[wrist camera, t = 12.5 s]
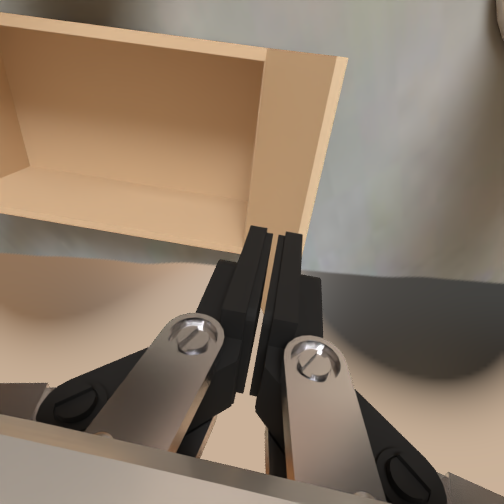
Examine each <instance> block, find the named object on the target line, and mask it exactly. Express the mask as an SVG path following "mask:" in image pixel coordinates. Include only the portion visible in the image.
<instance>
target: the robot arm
mask: <svg viewBox="0 0 504 504" xmlns="http://www.w3.org/2000/svg"><path fill="white" fill-rule="evenodd" d="M496 9H497V22H498V25H499V29H500V32H501V36H502V39H503V40H504V0H496ZM267 229H268V228H264V227H259V226H253V225H251V226H250V229H249V232H248V235H247V238H246V240H245V243H244V246H243V249H242V252H241V255H240V258H239V260H238V263H236V262H231V261H226V260H219V261H218V263H217V266H216V268H215V270H214V272H213V275H212V277H211V279H210V281H209V284H208V286H207V288H206V290H205V293H204V295H203V297H202V299H201V302H200V304H199V306H198V308H197V311H196V313H188V314H184V315H180V316H178V317H176V318H174V319H172V320H171V321H170V322H169V323H168V324H167V325H166V326H165V327H164V328H163V329H162V331H161V332H160V334H159V335H158V336H157V337H156V339H155V340H154V341H153V343H152V344H151V345H150V347H148V348H145V349H143V350H141V351H138V352H136V353H133V354H131V355H128V356H126V357H124V358H121V359H119V360H117V361H114V362H112V363H110V364H107V365H104V366H102V367H100V368H97V369H95V370H93V371H90V372H88V373H85V374H83V375H80V376H78V377H75V378H73V379H71V380H69V381H67V382H65V383H63V384H61V385H59V386H58V387H57V388H50V387H49V384H48V383H0V504H504V497H503V496H501V495H498V494H496V493H494V492H492V491H490V490H487V489H485V488H483V487H481V486H478V485H476V484H474V483H472V482H470V481H467V480H465V479H463V478H461V477H459V476H456V475H454V474H452V473H450V472H448V473H447V474H446V475H445V476H444V475H442V474H440V473H438V472H436V470H435V469H434V468H433V467H432V465H431V464H430V463H429V462H428V461H427V460H426V458H425V457H424V456H423V455H421V453H420V452H419V451H417V450H416V449H415V448H414V447H413V446H412V445H411V444H410V443H409V442H408V441H407V440H406V439H405V438H404V437H403V436H402V435H401V434H400V433H399V432H398V431H397V430H396V429H395V428H394V427H393V426H392V425H391V424H390V423H389V422H388V421H387V420H386V419H385V418H384V417H383V416H382V415H381V414H380V413H379V412H378V411H377V410H376V409H375V408H374V407H373V406H372V405H371V404H370V403H368V402H367V401H366V399H364V398H363V397H362V396H361V395H360V394H359V393H358V392H357V391H356V390H355V389H354V386H353V382H352V379H351V375H350V372H349V368H348V364H347V362H346V359H345V357H344V355H343V354H342V352H341V351H340V350H339V349H338V348H337V347H336V346H335V345H333V344H332V343H331V342H329V341H327V340H325V339H323V322H322V293H321V279H320V278H318V277H312V276H306V275H301V259H302V241H303V234H298V233H293V232H287V231H286V233H285V236H284V235H278V241H277V246H276V252H275V257H274V263H273V268H272V273H271V279H270V284H269V290H268V295H267V301H266V306H265V312H264V317H263V323H262V328H261V334H260V339H259V346H258V350H257V356H256V362H255V367H254V373H253V378H252V384H251V389H250V395H253V396H257V399H256V405H255V409H256V413H257V414H258V416H259V417H260V418H261V420H262V421H263V423H264V424H265V425H266V427H265V463H266V464H265V467H266V474H264V473H259V472H255V471H251V470H246V469H242V468H238V467H233V466H229V465H224V464H221V463H216V462H212V461H208V460H203V459H200V457H201V455H202V452H203V450H204V448H205V445H206V443H207V440H208V438H209V436H210V433H211V431H212V429H213V426H214V424H215V421H216V417H217V414H219V413H220V412H222V411H224V410H226V409H227V408H229V407H230V406H231V404H233V403H234V399H235V394H236V392H238V393H243V392H244V387H245V382H246V377H247V373H248V367H249V363H250V357H251V353H252V347H253V342H254V337H255V332H256V328H257V323H258V318H259V313H260V308H261V303H262V297H263V291H264V285H265V280H266V274H267V268H268V262H269V256H270V250H271V244H272V239H273V233H267Z"/></svg>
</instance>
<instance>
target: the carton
mask: <svg viewBox="0 0 504 504" xmlns="http://www.w3.org/2000/svg"><path fill="white" fill-rule="evenodd" d="M266 53H267V48H262V47H255V46H248V45H240V44H233V43H225V42H218V41H210V40H203V39H195V38H188V37H181V36H173V35H166V34H158V33H151V32H143V31H136V30H128V29H121V28H114V27H106V26H99V25H91V24H84V23H76V22H69V21H61V20H54V19H47V18H39V17H32V16H24V15H17V14H9V13H2V12H0V213H3V214H9V215H15V216H21V217H26V218H32V219H38V220H44V221H50V222H56V223H62V224H67V225H73V226H79V227H85V228H91V229H97V230H102V231H108V232H114V233H120V234H126V235H132V236H138V237H143V238H149V239H155V240H161V241H167V242H173V243H179V244H184V245H190V246H196V247H202V248H208V249H214V250H219V251H225V252H231V253H237V254H241V252H242V249H243V246H244V241H245V232H246V224H247V215H248V207H249V198H250V190H251V181H252V172H253V164H254V155H255V147H256V138H257V130H258V121H259V113H260V104H261V96H262V87H263V79H264V70H265V62H266Z"/></svg>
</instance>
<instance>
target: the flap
mask: <svg viewBox="0 0 504 504" xmlns="http://www.w3.org/2000/svg"><path fill="white" fill-rule="evenodd" d="M347 62H348V58H345V57H338V56H329V55H321V54H313V53H304V52H296V51H287V50H279V49H271V48H267V53H266V62H265V70H264V79H263V87H262V96H261V104H260V113H259V121H258V130H257V138H256V147H255V155H254V164H253V172H252V181H251V190H250V198H249V207H248V215H247V224H246V232H245V240H246V238H247V235H248V232H249V229H250V226H251V225H253V226H259V227H264V228H268V229H267V233H273V239H272V244H271V250H270V256H269V262H268V268H267V274H266V280H265V285H264V291H263V297H262V303H261V308H262V311H263V313H264V312H265V306H266V301H267V295H268V290H269V284H270V279H271V273H272V268H273V263H274V257H275V252H276V246H277V241H278V235H284V236H285V233H286V231H287V232H293V233H298V234H303V241H302V253H303V249H304V245H305V240H306V236H307V232H308V228H309V223H310V219H311V215H312V211H313V206H314V202H315V198H316V194H317V189H318V185H319V181H320V177H321V172H322V168H323V164H324V160H325V155H326V151H327V147H328V143H329V138H330V134H331V130H332V126H333V121H334V117H335V113H336V108H337V104H338V100H339V96H340V91H341V87H342V83H343V79H344V74H345V70H346V66H347ZM244 243H245V241H244Z"/></svg>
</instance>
